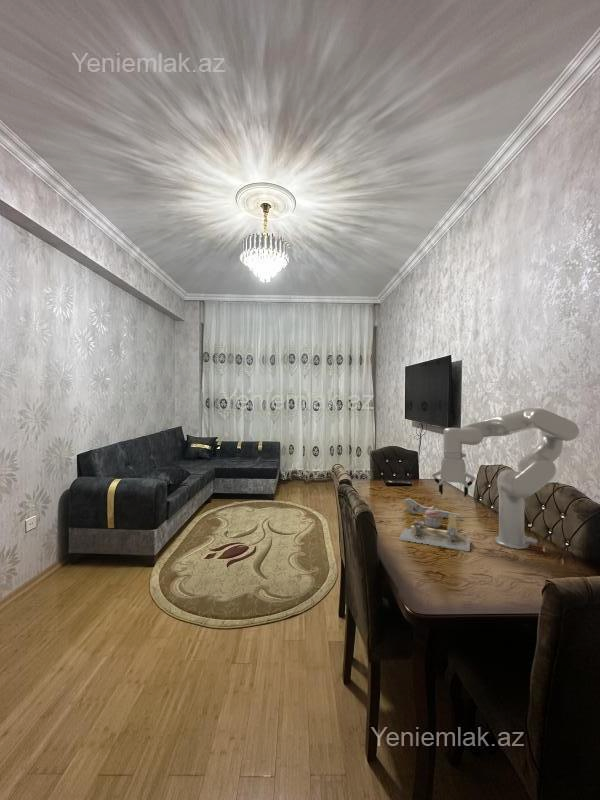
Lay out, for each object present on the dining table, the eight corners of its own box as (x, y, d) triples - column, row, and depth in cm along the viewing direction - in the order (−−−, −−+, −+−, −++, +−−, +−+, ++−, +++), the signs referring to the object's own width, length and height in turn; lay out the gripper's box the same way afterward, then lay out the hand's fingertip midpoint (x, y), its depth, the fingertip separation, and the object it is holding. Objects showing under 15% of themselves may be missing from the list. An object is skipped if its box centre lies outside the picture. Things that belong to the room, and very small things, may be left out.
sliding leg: (457, 536, 161) (457, 515, 161) (456, 541, 155) (456, 519, 155) (447, 534, 162) (447, 513, 162) (446, 539, 157) (446, 517, 157)
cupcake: (439, 530, 173) (439, 509, 173) (420, 526, 179) (420, 506, 179) (445, 525, 180) (445, 505, 181) (426, 521, 186) (426, 502, 186)
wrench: (460, 526, 188) (401, 512, 201) (460, 525, 190) (402, 511, 202) (462, 511, 188) (403, 497, 200) (462, 510, 190) (403, 497, 202)
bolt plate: (470, 541, 159) (470, 538, 159) (469, 551, 149) (469, 547, 149) (404, 531, 172) (404, 527, 172) (399, 539, 161) (399, 536, 161)
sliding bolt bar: (466, 538, 159) (466, 527, 159) (465, 543, 153) (465, 532, 153) (411, 530, 169) (412, 519, 169) (409, 534, 164) (409, 523, 164)
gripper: (474, 455, 160) (475, 495, 159) (433, 453, 167) (433, 491, 167) (474, 458, 153) (475, 499, 153) (431, 455, 161) (431, 494, 161)
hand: (453, 494), depth 160 cm, fingers open, 9 cm apart
